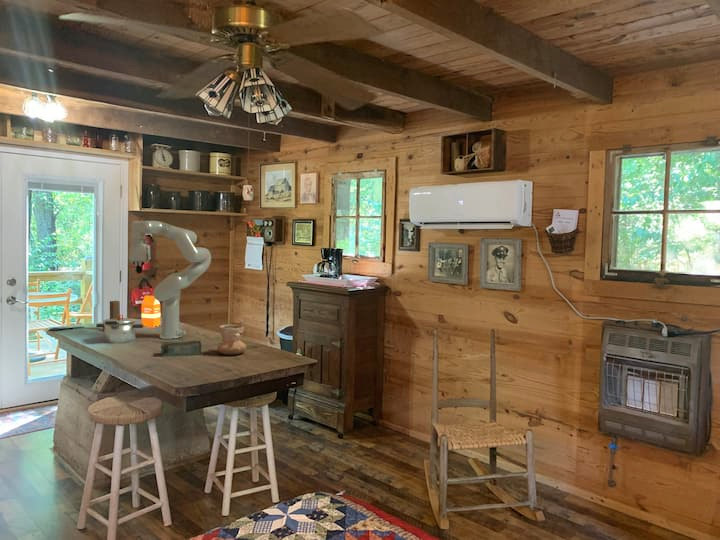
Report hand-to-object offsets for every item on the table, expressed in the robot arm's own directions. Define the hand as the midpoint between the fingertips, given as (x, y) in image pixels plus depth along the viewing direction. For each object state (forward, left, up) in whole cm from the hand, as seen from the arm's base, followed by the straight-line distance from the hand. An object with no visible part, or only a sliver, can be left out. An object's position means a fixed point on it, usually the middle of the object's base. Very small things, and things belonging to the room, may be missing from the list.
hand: (139, 273), depth 326 cm
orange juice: (+6, -31, -37) cm, 49 cm away
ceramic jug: (-66, +43, -37) cm, 87 cm away
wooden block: (+24, -14, -37) cm, 47 cm away
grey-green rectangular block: (-42, +47, -38) cm, 73 cm away
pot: (+4, +17, -37) cm, 41 cm away
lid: (+4, +18, -26) cm, 32 cm away
